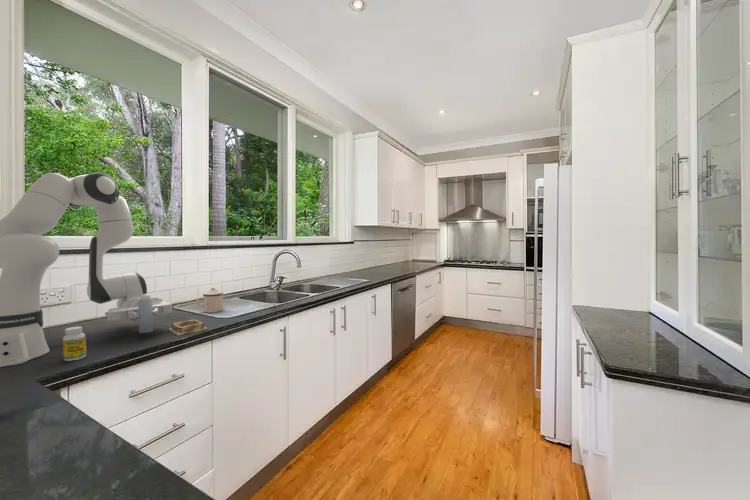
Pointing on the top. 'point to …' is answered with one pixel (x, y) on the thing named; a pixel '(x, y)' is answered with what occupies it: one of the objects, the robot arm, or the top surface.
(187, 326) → the cradle jig
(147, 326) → the blue bottle
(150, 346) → the top surface
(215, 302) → the teacup with lid
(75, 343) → the supplement bottle
